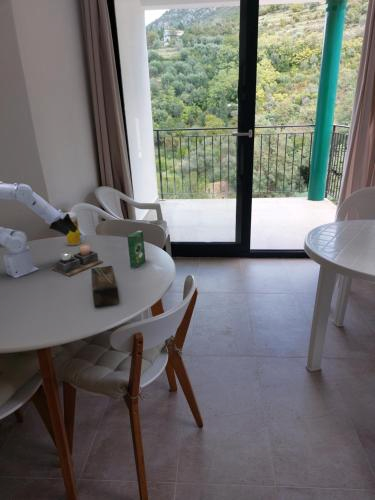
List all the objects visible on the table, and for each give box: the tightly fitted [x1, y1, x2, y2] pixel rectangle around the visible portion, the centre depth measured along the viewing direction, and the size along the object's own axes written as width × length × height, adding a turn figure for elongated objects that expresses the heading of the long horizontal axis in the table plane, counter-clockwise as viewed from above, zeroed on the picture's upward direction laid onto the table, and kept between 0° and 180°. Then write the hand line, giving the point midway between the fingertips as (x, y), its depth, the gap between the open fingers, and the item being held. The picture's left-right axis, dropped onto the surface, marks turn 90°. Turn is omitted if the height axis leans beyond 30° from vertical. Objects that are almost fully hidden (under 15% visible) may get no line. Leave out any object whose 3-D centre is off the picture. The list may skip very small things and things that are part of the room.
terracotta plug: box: [78, 244, 91, 257], centre depth 138 cm, size 4×4×4 cm
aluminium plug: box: [59, 251, 73, 264], centre depth 132 cm, size 4×4×4 cm
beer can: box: [63, 211, 82, 247], centre depth 160 cm, size 6×6×15 cm
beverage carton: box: [90, 265, 120, 308], centre depth 114 cm, size 8×19×7 cm, turn 16°
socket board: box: [51, 249, 104, 278], centre depth 137 cm, size 16×12×4 cm
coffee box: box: [126, 230, 146, 269], centre depth 134 cm, size 8×3×13 cm, turn 158°
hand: (71, 232), depth 136 cm, fingers open, 7 cm apart
